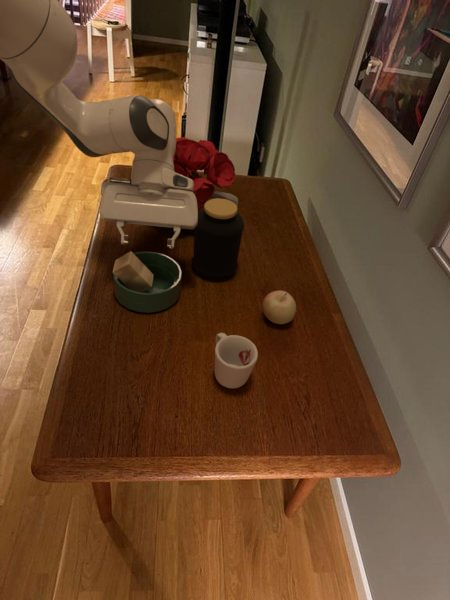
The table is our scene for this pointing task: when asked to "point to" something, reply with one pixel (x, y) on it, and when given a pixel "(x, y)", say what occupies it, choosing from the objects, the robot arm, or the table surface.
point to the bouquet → (211, 161)
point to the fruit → (279, 307)
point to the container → (217, 238)
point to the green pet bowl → (162, 287)
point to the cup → (234, 360)
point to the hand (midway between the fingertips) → (147, 246)
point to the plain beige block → (133, 273)
